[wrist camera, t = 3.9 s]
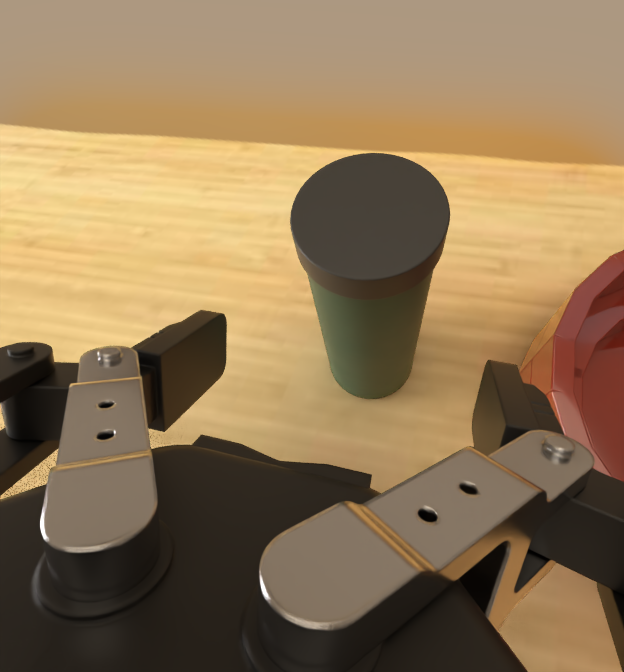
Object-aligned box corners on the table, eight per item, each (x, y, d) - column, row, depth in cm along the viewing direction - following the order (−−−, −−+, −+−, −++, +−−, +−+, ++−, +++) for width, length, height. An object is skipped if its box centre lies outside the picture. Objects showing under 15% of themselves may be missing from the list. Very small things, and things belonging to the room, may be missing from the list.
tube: (420, 328, 25) (459, 159, 14) (407, 410, 23) (438, 291, 12) (337, 314, 26) (311, 146, 15) (318, 392, 24) (271, 267, 13)
